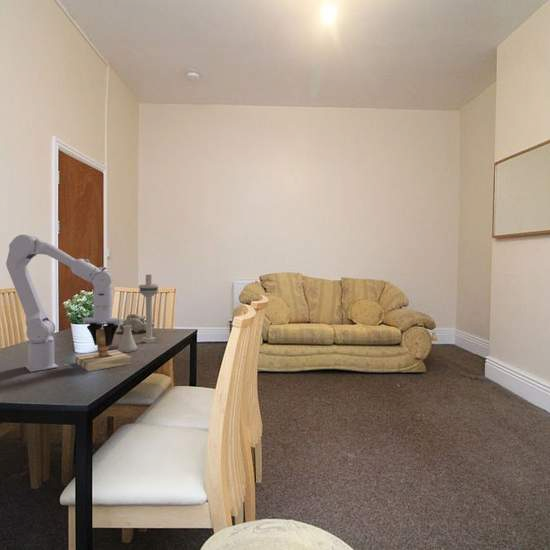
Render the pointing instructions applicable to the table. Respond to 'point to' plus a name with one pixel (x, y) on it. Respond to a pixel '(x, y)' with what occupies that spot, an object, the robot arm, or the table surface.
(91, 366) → the birch board
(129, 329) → the flask
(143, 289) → the model tower
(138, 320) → the mineral
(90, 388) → the table surface
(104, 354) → the oak peg
